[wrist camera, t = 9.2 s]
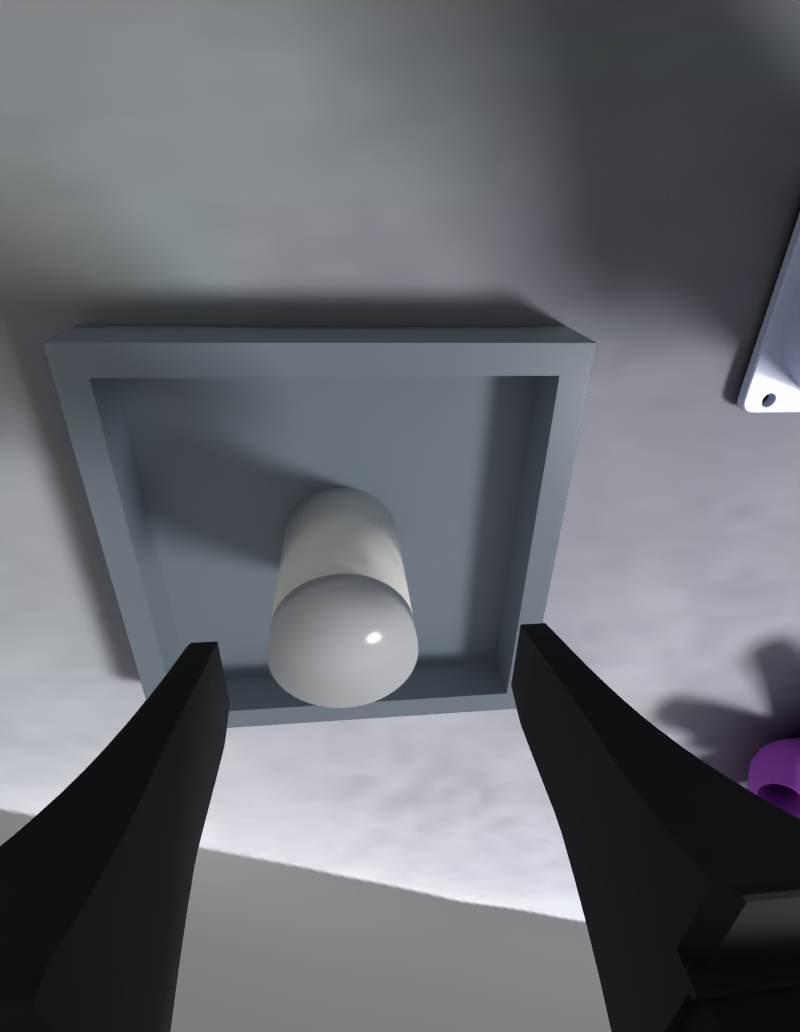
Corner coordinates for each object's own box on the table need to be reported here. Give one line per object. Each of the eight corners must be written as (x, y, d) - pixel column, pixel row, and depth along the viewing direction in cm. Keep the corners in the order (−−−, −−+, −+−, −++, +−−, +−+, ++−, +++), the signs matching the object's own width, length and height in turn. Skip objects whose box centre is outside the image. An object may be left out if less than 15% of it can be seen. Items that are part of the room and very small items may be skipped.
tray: (567, 326, 19) (596, 343, 17) (510, 667, 27) (525, 707, 25) (78, 325, 17) (42, 342, 15) (170, 687, 25) (155, 732, 23)
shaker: (398, 486, 21) (421, 591, 15) (396, 580, 23) (415, 703, 17) (279, 489, 20) (259, 598, 15) (289, 585, 23) (273, 712, 17)
